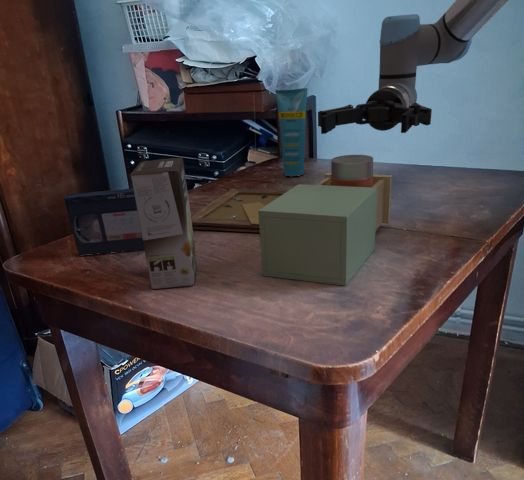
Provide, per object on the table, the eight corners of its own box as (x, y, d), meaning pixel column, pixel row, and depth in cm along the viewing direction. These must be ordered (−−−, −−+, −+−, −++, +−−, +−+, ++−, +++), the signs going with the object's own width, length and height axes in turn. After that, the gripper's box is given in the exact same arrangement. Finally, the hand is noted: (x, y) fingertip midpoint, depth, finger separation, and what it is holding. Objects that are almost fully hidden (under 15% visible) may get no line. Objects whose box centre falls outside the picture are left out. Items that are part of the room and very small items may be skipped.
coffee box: (195, 286, 76) (179, 170, 68) (151, 290, 76) (128, 174, 68) (198, 262, 84) (183, 156, 76) (157, 266, 84) (138, 160, 76)
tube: (277, 178, 130) (273, 90, 120) (280, 173, 134) (276, 88, 124) (308, 177, 128) (306, 88, 119) (310, 172, 132) (308, 86, 123)
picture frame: (277, 234, 93) (314, 198, 112) (276, 224, 92) (314, 189, 111) (183, 229, 99) (233, 195, 118) (181, 220, 98) (232, 187, 117)
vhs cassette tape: (77, 257, 90) (62, 198, 85) (81, 251, 93) (66, 193, 88) (186, 247, 91) (177, 187, 86) (187, 241, 93) (178, 183, 88)
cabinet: (300, 242, 89) (298, 184, 84) (374, 249, 84) (377, 187, 79) (262, 275, 78) (257, 210, 73) (346, 286, 73) (346, 216, 68)
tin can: (376, 219, 90) (378, 155, 85) (364, 232, 85) (366, 164, 80) (338, 217, 93) (339, 154, 88) (325, 228, 88) (324, 162, 83)
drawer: (335, 210, 100) (335, 167, 96) (395, 214, 96) (398, 169, 92) (299, 241, 87) (297, 192, 83) (368, 247, 82) (369, 196, 78)
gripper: (451, 127, 103) (437, 148, 87) (326, 128, 112) (292, 148, 96) (455, 84, 100) (442, 97, 83) (326, 89, 109) (291, 102, 92)
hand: (362, 124), depth 89 cm, fingers open, 13 cm apart
